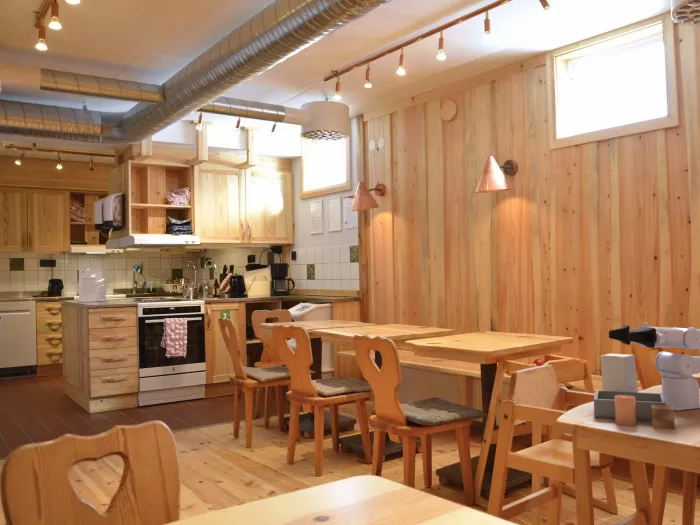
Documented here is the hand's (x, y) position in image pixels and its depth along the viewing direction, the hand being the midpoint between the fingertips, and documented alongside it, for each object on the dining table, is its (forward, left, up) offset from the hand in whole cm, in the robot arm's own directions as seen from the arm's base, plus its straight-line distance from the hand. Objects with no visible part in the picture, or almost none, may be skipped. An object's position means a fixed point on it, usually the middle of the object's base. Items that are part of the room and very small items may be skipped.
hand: (618, 335), depth 175 cm
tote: (-1, +2, -22) cm, 22 cm away
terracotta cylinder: (+7, +10, -22) cm, 25 cm away
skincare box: (-8, -10, -22) cm, 25 cm away
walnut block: (+1, +16, -22) cm, 27 cm away
